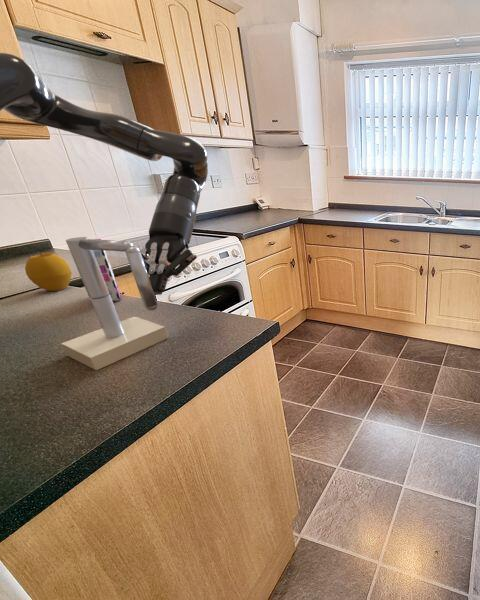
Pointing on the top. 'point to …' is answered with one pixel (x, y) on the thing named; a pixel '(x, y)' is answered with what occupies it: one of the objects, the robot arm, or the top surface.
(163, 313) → the top surface
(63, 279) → the yellow fruit
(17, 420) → the top surface
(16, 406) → the top surface
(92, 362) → the tap stand
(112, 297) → the candy bar box
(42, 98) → the robot arm
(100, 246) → the spout
